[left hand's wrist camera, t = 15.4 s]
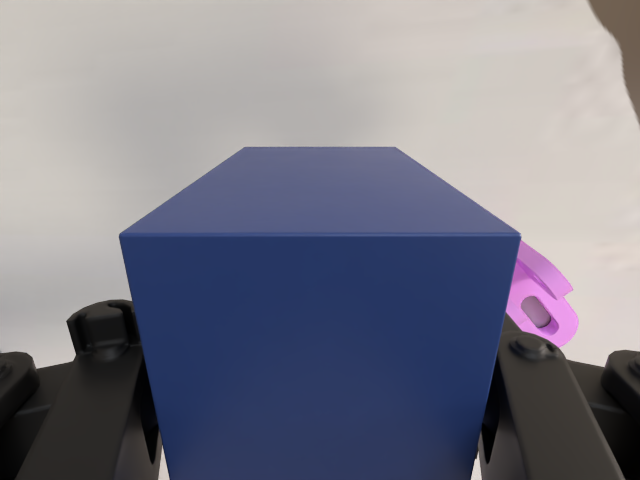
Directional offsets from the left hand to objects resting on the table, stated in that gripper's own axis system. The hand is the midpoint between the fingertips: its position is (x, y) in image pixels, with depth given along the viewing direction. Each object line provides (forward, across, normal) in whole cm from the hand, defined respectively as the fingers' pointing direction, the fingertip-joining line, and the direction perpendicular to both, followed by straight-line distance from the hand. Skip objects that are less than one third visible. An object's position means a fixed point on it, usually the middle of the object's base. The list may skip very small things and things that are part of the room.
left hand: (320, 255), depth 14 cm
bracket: (+20, +20, -13) cm, 31 cm away
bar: (+1, 0, -7) cm, 7 cm away
